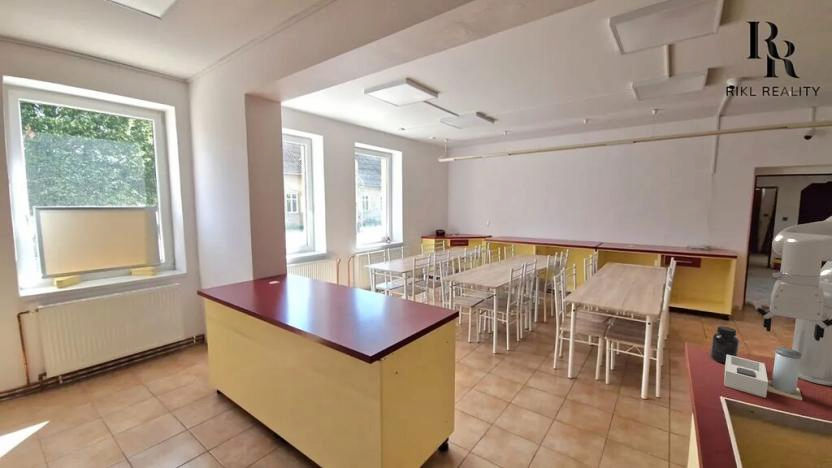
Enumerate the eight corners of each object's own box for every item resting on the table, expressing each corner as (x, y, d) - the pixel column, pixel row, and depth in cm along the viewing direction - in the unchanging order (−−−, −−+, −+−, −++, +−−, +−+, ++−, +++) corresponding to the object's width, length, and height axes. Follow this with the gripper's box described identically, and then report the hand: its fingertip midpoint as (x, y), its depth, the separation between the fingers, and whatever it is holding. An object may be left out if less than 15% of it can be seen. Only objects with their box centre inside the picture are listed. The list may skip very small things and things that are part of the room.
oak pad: (765, 381, 105) (765, 379, 105) (798, 389, 100) (798, 388, 100) (767, 390, 100) (767, 389, 100) (802, 400, 95) (802, 398, 95)
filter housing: (724, 367, 113) (726, 354, 112) (762, 377, 107) (764, 363, 106) (724, 385, 103) (726, 370, 102) (765, 397, 97) (767, 382, 96)
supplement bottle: (741, 366, 114) (745, 333, 113) (718, 364, 115) (722, 332, 114) (727, 356, 121) (731, 325, 119) (706, 354, 122) (709, 324, 121)
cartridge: (770, 381, 104) (775, 345, 102) (794, 388, 100) (800, 351, 99) (771, 388, 100) (776, 351, 99) (797, 395, 97) (802, 357, 95)
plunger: (737, 377, 104) (738, 367, 104) (752, 381, 102) (753, 371, 101) (737, 382, 102) (738, 371, 101) (753, 386, 99) (754, 375, 99)
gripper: (756, 277, 99) (750, 330, 101) (850, 287, 87) (840, 348, 89) (755, 272, 104) (749, 323, 107) (843, 281, 92) (834, 338, 95)
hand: (791, 334), depth 98 cm, fingers open, 9 cm apart
